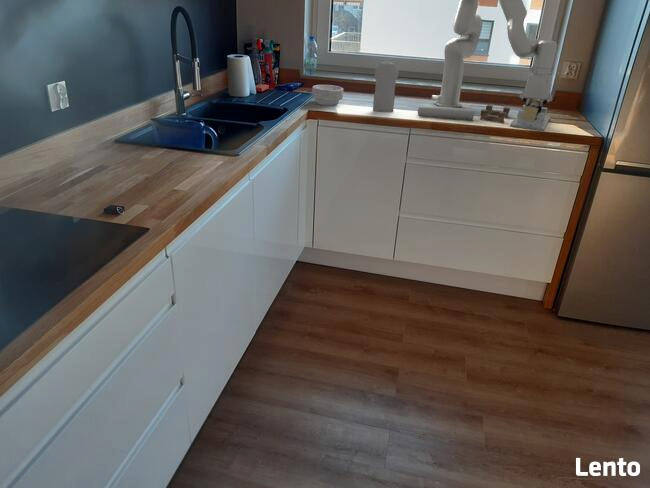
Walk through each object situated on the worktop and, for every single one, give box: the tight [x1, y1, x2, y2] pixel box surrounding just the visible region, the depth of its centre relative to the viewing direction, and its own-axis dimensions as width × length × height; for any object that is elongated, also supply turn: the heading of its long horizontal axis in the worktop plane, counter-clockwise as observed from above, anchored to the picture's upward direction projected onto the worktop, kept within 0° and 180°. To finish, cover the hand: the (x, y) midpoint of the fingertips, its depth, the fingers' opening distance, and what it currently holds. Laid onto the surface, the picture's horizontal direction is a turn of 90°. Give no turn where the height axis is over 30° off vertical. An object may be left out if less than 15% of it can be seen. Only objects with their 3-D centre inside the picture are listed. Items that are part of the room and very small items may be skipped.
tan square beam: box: [522, 98, 545, 121], centre depth 226 cm, size 5×24×5 cm, turn 153°
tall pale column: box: [372, 61, 399, 113], centre depth 233 cm, size 11×4×22 cm, turn 94°
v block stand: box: [509, 104, 551, 132], centre depth 227 cm, size 14×26×6 cm, turn 153°
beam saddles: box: [479, 104, 511, 123], centre depth 234 cm, size 10×15×4 cm
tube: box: [417, 105, 475, 122], centre depth 230 cm, size 5×5×25 cm
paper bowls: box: [311, 84, 344, 106], centre depth 247 cm, size 15×15×8 cm
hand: (532, 113), depth 227 cm, fingers closed on tan square beam, 4 cm apart
